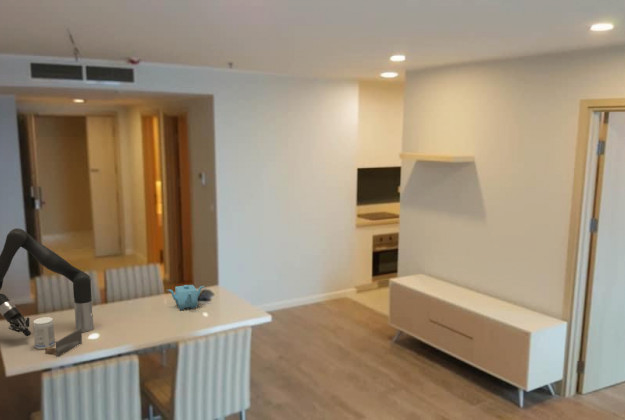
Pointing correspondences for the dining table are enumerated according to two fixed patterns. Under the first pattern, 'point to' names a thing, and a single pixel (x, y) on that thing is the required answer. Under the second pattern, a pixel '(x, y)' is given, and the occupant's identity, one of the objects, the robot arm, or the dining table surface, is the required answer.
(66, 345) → the walnut dock
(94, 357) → the dining table surface
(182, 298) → the teakettle
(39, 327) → the supplement tub
